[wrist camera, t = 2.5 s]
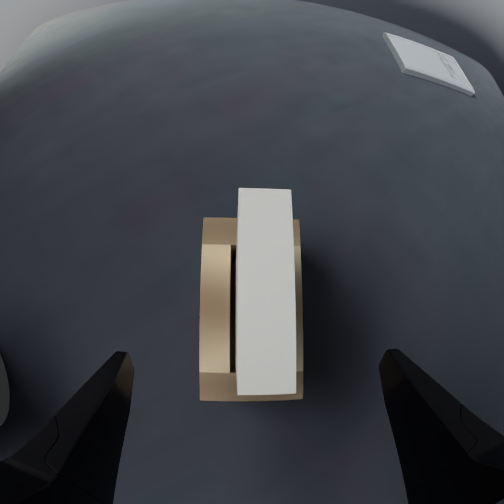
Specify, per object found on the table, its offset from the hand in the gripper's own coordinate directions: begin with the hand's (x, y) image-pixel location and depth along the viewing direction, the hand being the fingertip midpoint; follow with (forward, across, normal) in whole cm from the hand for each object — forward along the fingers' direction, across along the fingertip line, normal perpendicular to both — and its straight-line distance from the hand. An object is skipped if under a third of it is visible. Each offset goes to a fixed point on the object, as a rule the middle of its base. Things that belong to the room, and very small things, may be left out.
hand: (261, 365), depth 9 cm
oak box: (+8, 0, +5) cm, 10 cm away
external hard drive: (+31, -24, -16) cm, 42 cm away
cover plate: (+8, 0, +5) cm, 9 cm away
